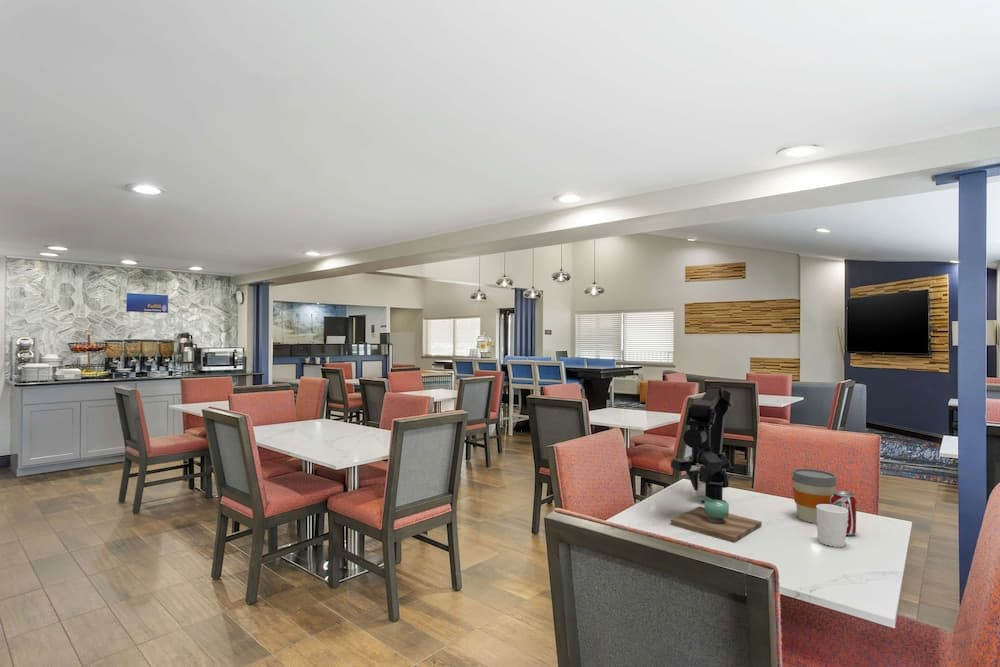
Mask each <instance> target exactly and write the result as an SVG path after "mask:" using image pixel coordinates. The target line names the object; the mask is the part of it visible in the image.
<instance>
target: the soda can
mask: <svg viewBox="0 0 1000 667" xmlns="http://www.w3.org/2000/svg"><path fill="white" fill-rule="evenodd" d="M830 505H836V506H840V507H843V508H845V509H847V510H848V520H847V532H846V535H851V536H853V535H855V534H856V533H857V500H856V498H855V494H854V493H852V492H849V491H844V490H834V491H833V495H832V496H831V497H830Z"/></svg>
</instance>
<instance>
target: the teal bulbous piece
mask: <svg viewBox="0 0 1000 667" xmlns="http://www.w3.org/2000/svg"><path fill="white" fill-rule="evenodd" d="M705 489H706V483H705V482H702V481H700V480H698V488H697V491H696V490H695V495H696V498H698V499H700V500H703V501H705V502H704V506H703V507H704V513H705V514H706V515H708V516H711V517H716V518H726V517H728V514H730V513H729V511H730V510H729V508H730V507H729V506H730V505H729V503H728V502H727V501H726V502H724V501H720V500H712V499H710V498H709V497H707V496H705Z"/></svg>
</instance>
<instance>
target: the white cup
mask: <svg viewBox="0 0 1000 667" xmlns="http://www.w3.org/2000/svg"><path fill="white" fill-rule="evenodd" d="M816 512H817V524H816V530H817V542H819V543H821V544H822V545H824V544H825V546H828V545H829V547H832V546H833V548H843V547H845V546H846V537H847V536H846V532H847V520H848V510H847V509H845V508H843V507H840V506H836V505H829V504H819V505H817V506H816Z"/></svg>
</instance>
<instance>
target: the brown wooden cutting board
mask: <svg viewBox="0 0 1000 667" xmlns="http://www.w3.org/2000/svg"><path fill="white" fill-rule="evenodd" d="M670 525H671V526H675V527H678V528H682V529H685V530H689V531H693V532H696V533H701V534H704V535H707V536H710V537H715V538H717V539H721V540H726V541H728V542H732V543H737V542H739V541H740V540H742V539H744V538H745V537H747V536H748V535H750V534H753V532H755V531H757V530H758V529H759V528H762V526H763V525H762V521H761V520H757V519H753V518H748V517H746V516H745V517H744V516H740V515H736V514H733V513H729V514H728V517H726V518H716V517H711V516H708V515H706V514H705V513H704V506H701V505H700V506H697V507H696V508H694V509H691V510H689V511H686V512H684V513H682V514H680V515H677V516H675V517H674V518H671V519H670Z"/></svg>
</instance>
